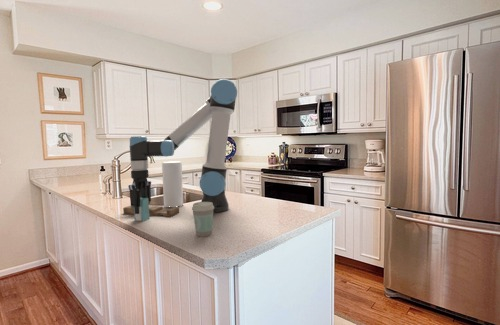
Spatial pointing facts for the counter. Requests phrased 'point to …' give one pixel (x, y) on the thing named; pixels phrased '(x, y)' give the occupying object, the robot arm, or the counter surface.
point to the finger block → (144, 209)
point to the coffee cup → (203, 218)
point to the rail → (154, 210)
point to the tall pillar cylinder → (172, 183)
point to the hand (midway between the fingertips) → (142, 218)
